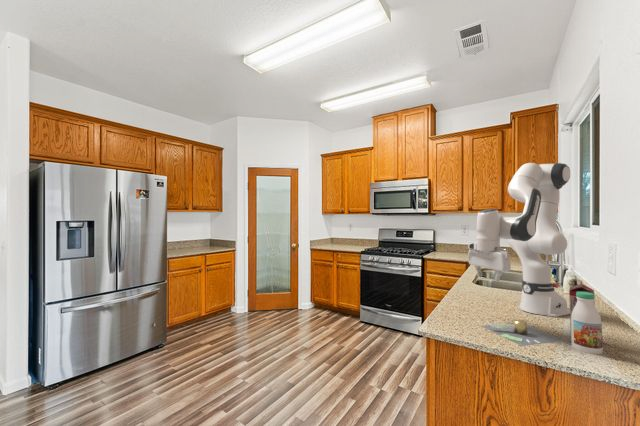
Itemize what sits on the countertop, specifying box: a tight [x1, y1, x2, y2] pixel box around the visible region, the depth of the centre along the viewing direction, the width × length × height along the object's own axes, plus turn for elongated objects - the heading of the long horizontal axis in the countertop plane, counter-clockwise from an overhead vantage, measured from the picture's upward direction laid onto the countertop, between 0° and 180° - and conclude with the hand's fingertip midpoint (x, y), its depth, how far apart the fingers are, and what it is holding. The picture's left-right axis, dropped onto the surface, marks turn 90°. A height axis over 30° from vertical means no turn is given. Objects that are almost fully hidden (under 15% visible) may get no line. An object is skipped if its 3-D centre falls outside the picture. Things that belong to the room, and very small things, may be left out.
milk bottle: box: [570, 291, 604, 355], centre depth 97 cm, size 8×8×20 cm
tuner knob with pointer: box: [489, 319, 528, 334], centre depth 112 cm, size 12×4×4 cm, turn 71°
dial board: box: [481, 322, 566, 347], centre depth 111 cm, size 19×19×1 cm
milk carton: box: [569, 279, 596, 330], centre depth 106 cm, size 7×7×22 cm
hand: (488, 278), depth 124 cm, fingers open, 8 cm apart
